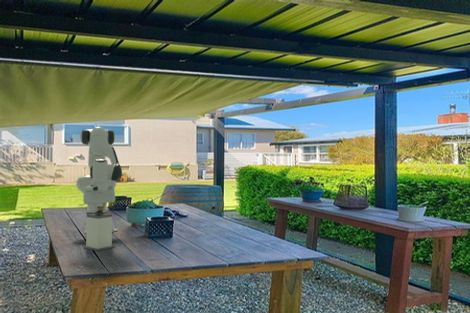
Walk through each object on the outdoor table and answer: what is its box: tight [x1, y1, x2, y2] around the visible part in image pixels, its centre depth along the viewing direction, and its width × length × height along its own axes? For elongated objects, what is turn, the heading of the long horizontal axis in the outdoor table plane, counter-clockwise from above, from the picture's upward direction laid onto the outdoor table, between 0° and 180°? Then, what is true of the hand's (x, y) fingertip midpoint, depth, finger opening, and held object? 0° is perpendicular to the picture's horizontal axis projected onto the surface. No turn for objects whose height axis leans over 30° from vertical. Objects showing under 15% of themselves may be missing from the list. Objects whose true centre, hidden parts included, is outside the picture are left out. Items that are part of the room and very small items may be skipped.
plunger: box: [95, 206, 106, 215], centre depth 251 cm, size 7×7×19 cm
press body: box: [83, 212, 115, 252], centre depth 251 cm, size 12×12×20 cm
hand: (99, 210), depth 251 cm, fingers closed on plunger, 3 cm apart
